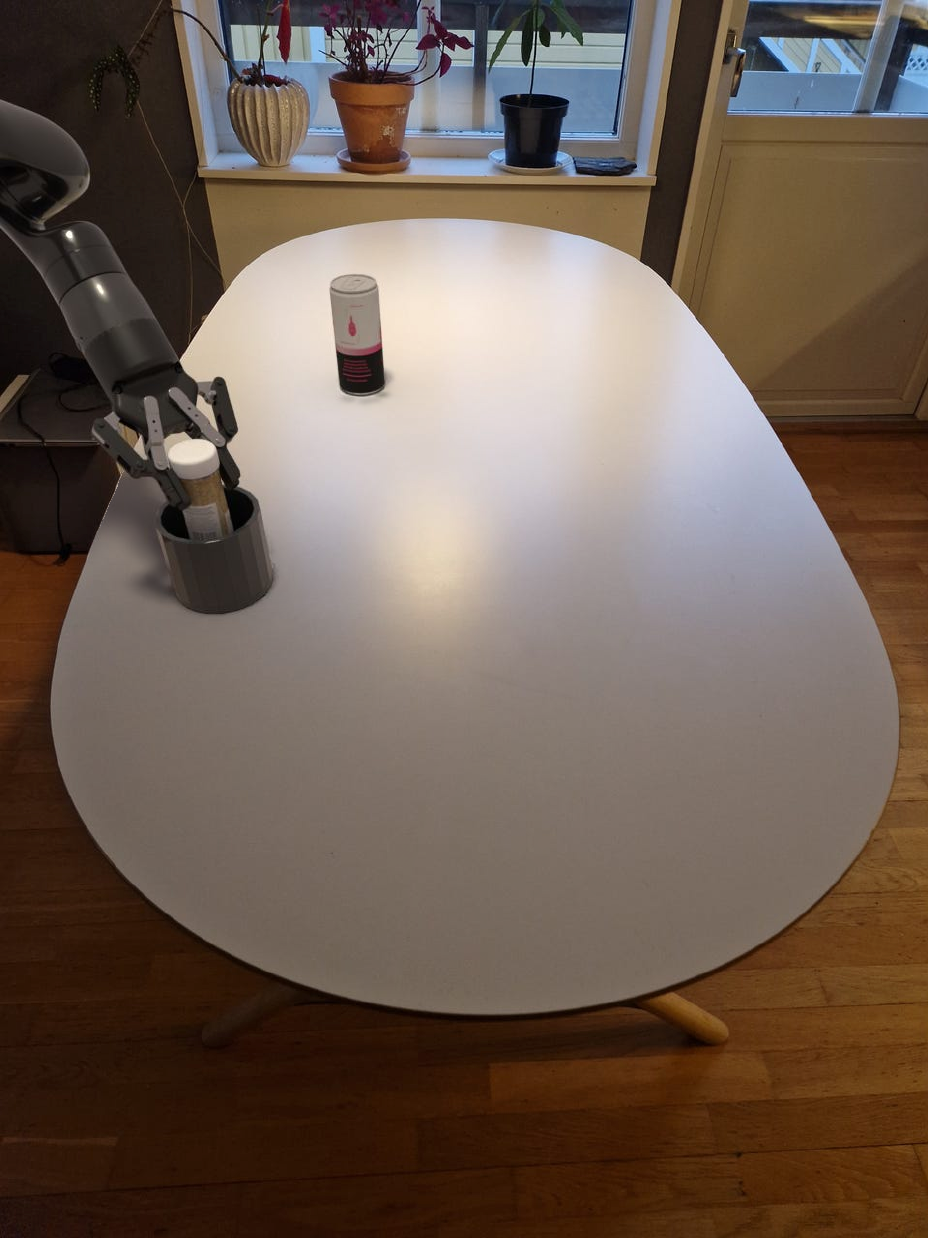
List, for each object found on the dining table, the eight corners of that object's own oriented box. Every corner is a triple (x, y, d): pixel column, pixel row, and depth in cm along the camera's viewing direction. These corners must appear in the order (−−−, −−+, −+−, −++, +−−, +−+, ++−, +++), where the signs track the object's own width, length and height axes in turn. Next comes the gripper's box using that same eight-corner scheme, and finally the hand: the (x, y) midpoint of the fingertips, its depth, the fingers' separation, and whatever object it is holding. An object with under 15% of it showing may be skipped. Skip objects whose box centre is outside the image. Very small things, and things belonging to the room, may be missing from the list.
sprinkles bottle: (248, 553, 91) (225, 442, 82) (224, 579, 88) (198, 466, 79) (211, 544, 92) (184, 433, 83) (186, 569, 89) (156, 456, 80)
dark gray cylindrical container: (178, 622, 87) (157, 551, 81) (172, 563, 94) (152, 493, 88) (279, 602, 89) (266, 532, 83) (265, 545, 97) (252, 477, 91)
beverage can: (392, 379, 127) (386, 276, 117) (372, 399, 122) (364, 294, 112) (352, 372, 128) (342, 270, 118) (331, 391, 124) (320, 287, 114)
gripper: (49, 340, 75) (149, 515, 76) (196, 297, 82) (285, 457, 83) (43, 376, 81) (136, 537, 82) (180, 333, 88) (263, 481, 90)
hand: (210, 496), depth 83 cm, fingers closed on sprinkles bottle, 4 cm apart
